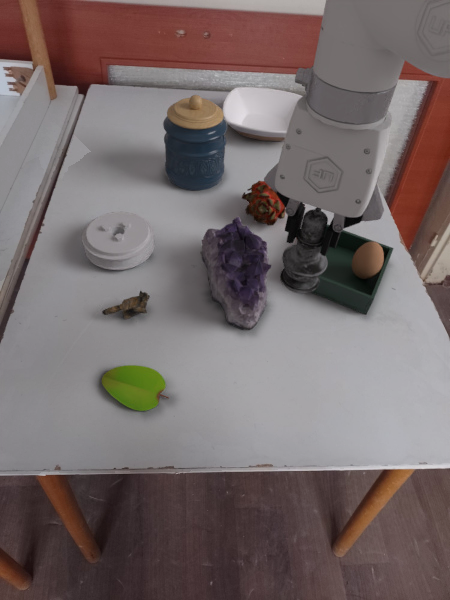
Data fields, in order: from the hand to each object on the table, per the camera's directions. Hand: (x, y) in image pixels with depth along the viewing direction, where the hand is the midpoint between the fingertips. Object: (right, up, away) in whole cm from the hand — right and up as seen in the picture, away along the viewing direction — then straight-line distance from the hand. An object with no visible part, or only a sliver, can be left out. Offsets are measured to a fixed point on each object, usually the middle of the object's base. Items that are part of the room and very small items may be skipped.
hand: (309, 241), depth 55 cm
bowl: (0, +37, +60) cm, 70 cm away
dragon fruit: (-3, +10, +37) cm, 39 cm away
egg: (+14, -3, +27) cm, 31 cm away
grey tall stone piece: (0, -4, +5) cm, 7 cm away
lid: (-30, +2, +29) cm, 41 cm away
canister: (-17, +21, +45) cm, 53 cm away
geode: (-8, -5, +25) cm, 26 cm away
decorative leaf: (-23, -20, +10) cm, 33 cm away
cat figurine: (-26, -10, +19) cm, 34 cm away
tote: (+11, -2, +28) cm, 30 cm away
